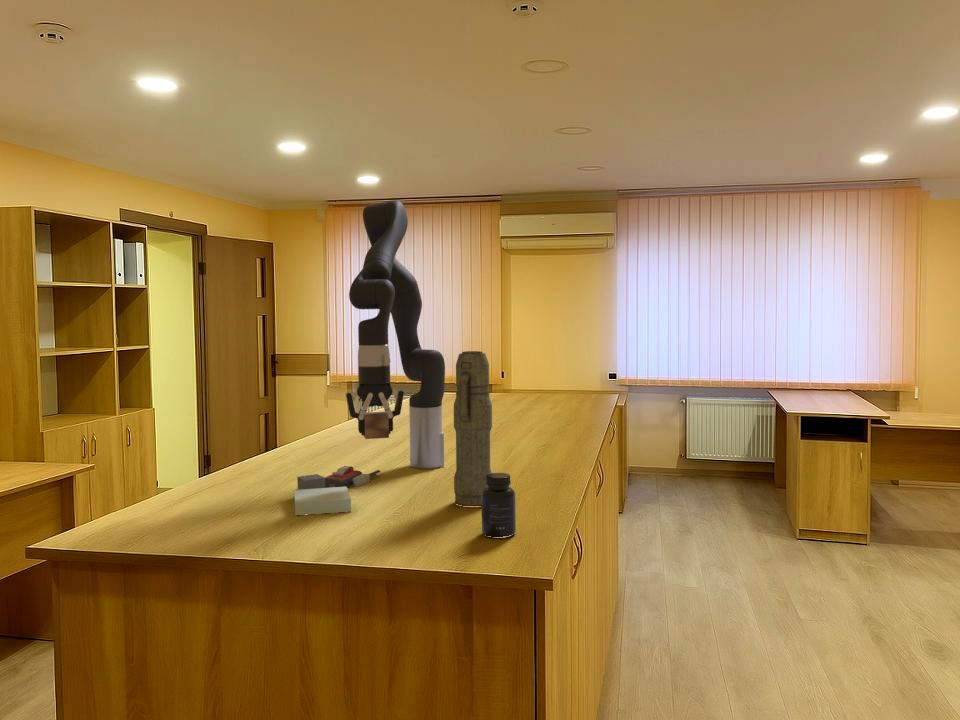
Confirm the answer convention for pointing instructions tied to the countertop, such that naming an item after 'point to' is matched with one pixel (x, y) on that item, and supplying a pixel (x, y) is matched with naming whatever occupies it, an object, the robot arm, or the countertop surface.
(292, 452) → the countertop surface
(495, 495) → the supplement bottle
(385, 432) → the walnut cube
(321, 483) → the charcoal block
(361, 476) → the walkie-talkie
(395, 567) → the countertop surface
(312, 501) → the pedestal
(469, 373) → the thermos
